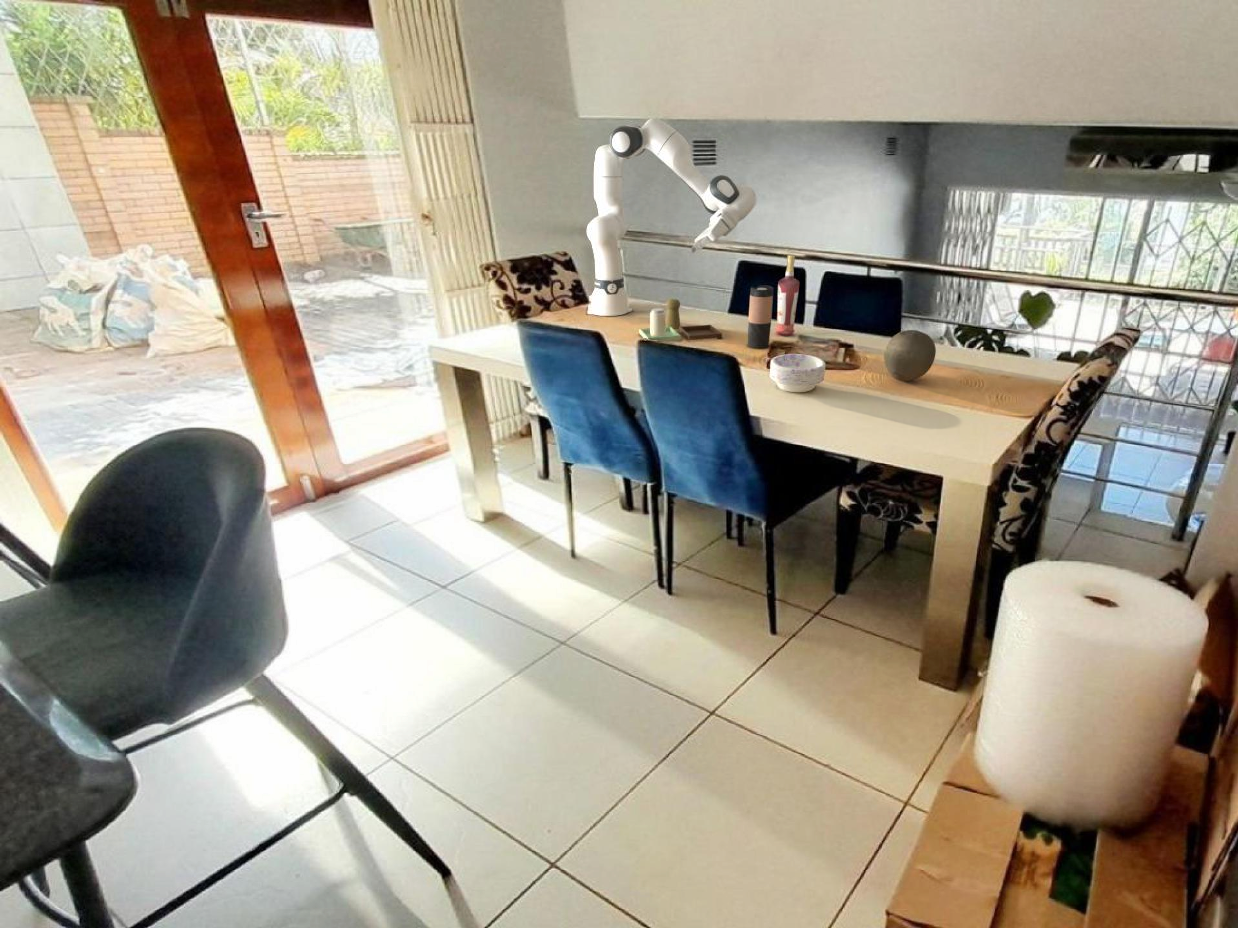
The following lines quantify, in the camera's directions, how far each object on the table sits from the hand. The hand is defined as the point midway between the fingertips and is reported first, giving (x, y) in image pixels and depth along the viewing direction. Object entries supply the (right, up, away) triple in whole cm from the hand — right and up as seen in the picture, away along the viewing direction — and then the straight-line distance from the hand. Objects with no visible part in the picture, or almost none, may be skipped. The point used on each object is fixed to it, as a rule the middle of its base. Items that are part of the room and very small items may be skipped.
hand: (694, 249), depth 260 cm
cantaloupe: (+56, -55, -54) cm, 95 cm away
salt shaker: (-14, -33, -6) cm, 37 cm away
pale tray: (-13, -33, -4) cm, 36 cm away
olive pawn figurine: (-8, -28, +7) cm, 30 cm away
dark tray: (+2, -32, -3) cm, 32 cm away
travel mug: (+20, -39, -17) cm, 47 cm away
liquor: (+32, -32, -4) cm, 46 cm away
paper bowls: (+23, -57, -57) cm, 84 cm away
